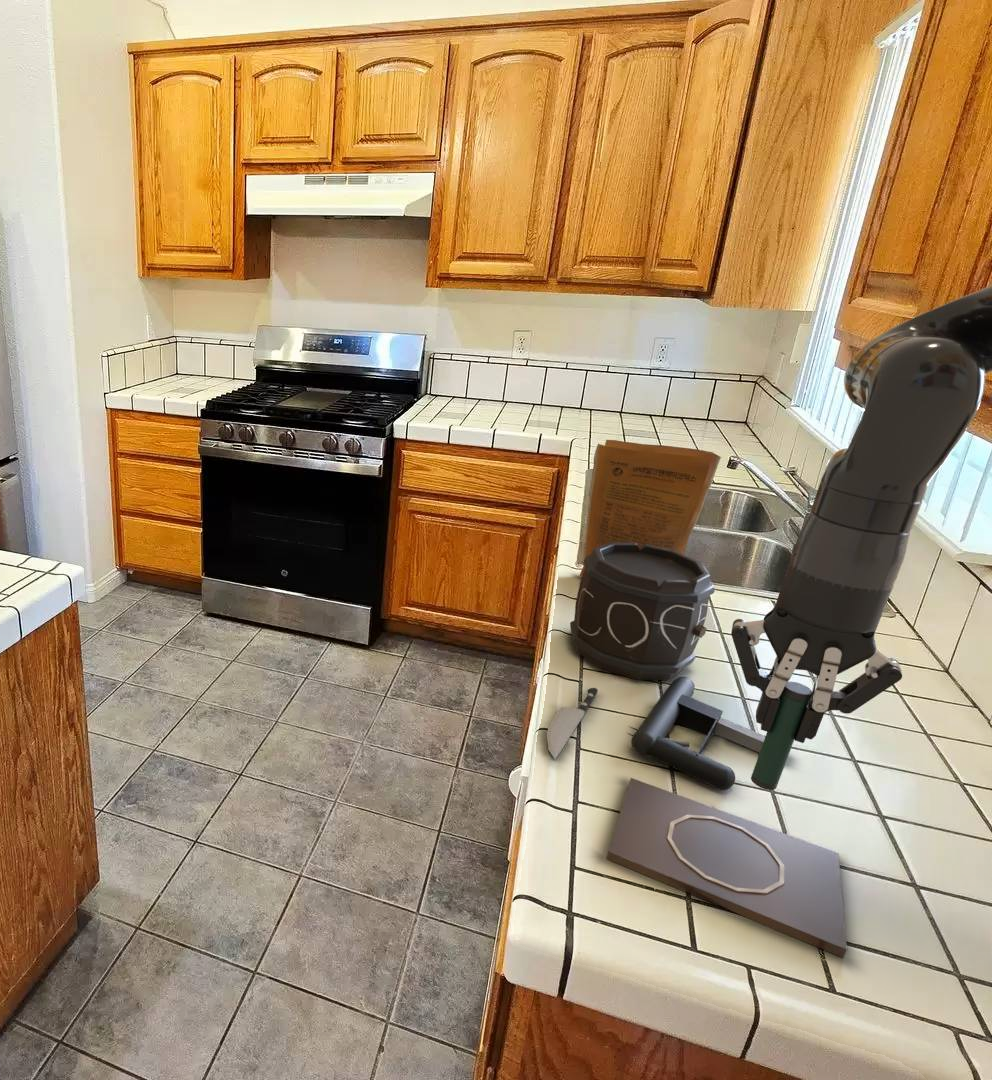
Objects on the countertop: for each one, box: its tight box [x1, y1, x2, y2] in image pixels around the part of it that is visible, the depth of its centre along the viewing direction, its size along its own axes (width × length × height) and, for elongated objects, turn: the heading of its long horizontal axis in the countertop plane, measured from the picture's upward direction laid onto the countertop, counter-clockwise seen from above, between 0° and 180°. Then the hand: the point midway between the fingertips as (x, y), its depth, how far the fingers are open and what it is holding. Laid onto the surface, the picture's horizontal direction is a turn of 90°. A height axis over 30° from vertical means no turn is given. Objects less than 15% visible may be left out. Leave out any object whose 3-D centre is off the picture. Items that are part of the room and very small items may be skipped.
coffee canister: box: [569, 542, 715, 681], centre depth 114 cm, size 18×18×16 cm
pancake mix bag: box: [579, 439, 722, 578], centre depth 134 cm, size 7×19×28 cm, turn 57°
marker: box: [750, 681, 812, 791], centre depth 72 cm, size 2×2×11 cm
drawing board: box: [605, 777, 848, 958], centre depth 77 cm, size 20×14×1 cm
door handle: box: [627, 676, 766, 791], centre depth 96 cm, size 3×20×16 cm
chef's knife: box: [546, 687, 599, 760], centre depth 99 cm, size 19×1×3 cm
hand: (782, 732), depth 72 cm, fingers closed on marker, 2 cm apart
